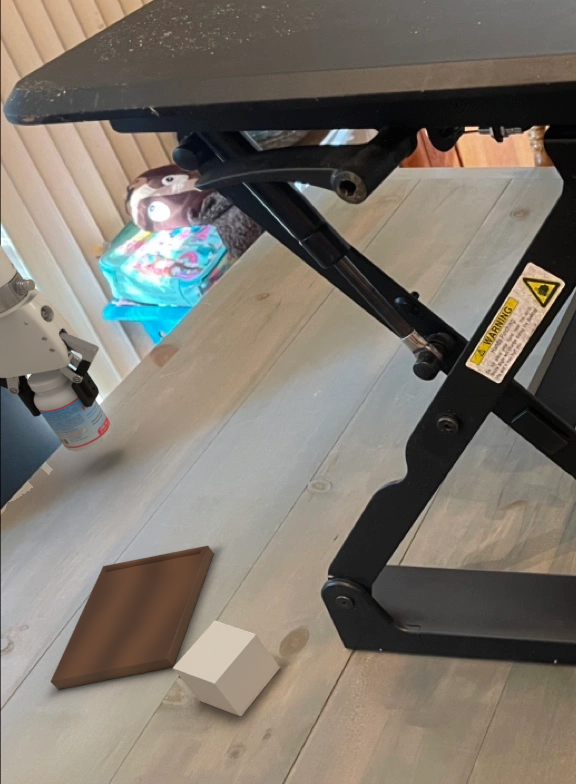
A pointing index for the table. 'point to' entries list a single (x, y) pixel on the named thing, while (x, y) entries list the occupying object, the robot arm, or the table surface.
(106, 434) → the pill bottle
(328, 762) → the table surface
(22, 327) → the robot arm
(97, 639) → the serving tray
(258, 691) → the white cube
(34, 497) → the table surface
